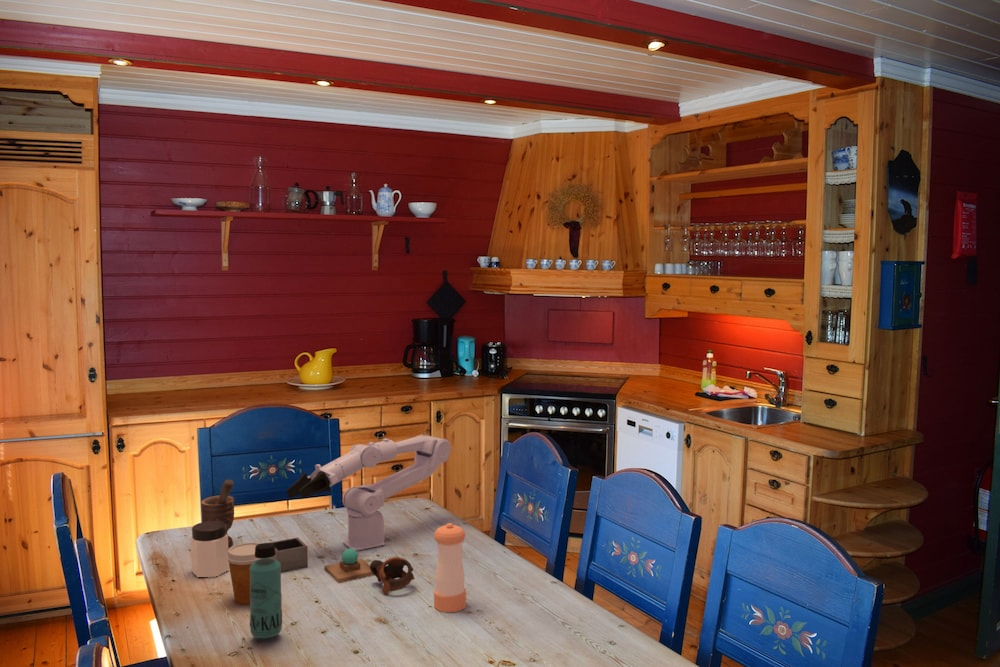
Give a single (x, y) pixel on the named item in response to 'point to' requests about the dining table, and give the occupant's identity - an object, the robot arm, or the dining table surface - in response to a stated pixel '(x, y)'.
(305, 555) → the open box
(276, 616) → the beverage bottle
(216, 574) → the jar
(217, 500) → the mortar and pestle
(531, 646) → the dining table surface
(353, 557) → the ball
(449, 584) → the salt shaker
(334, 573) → the stand
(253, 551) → the disposable coffee cup
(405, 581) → the pottery mug
